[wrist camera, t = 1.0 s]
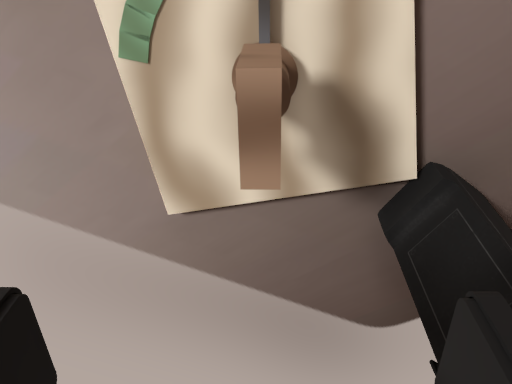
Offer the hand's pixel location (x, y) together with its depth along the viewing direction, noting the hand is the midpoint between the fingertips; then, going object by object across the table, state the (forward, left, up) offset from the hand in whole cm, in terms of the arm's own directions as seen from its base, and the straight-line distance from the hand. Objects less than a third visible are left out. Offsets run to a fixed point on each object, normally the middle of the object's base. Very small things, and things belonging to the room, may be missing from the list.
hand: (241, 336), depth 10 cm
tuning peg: (0, -3, -23) cm, 23 cm away
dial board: (0, 0, -25) cm, 25 cm away
